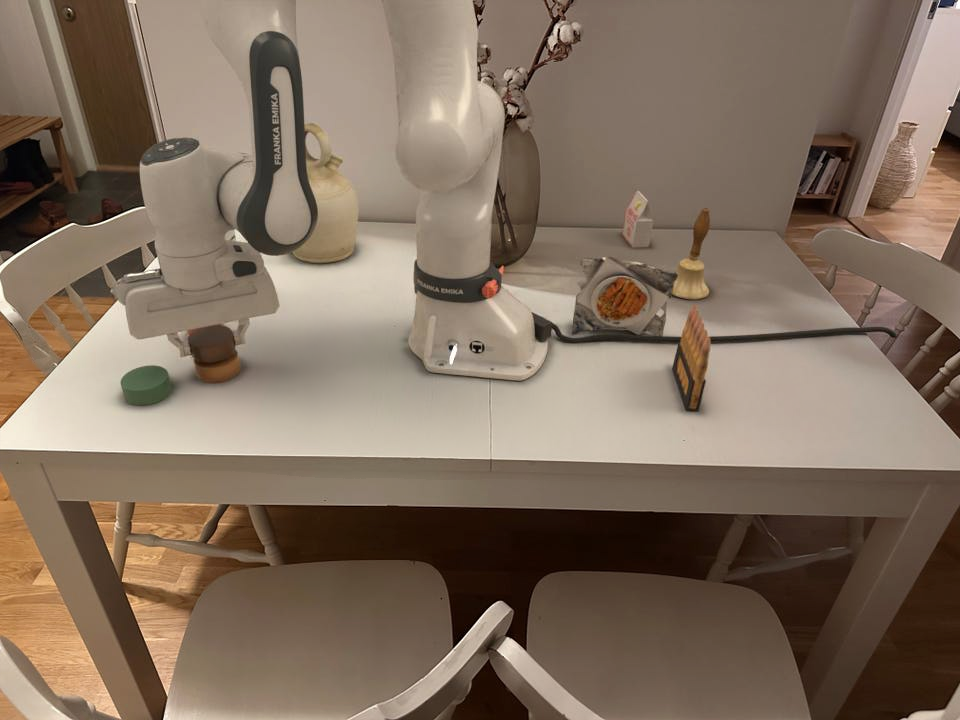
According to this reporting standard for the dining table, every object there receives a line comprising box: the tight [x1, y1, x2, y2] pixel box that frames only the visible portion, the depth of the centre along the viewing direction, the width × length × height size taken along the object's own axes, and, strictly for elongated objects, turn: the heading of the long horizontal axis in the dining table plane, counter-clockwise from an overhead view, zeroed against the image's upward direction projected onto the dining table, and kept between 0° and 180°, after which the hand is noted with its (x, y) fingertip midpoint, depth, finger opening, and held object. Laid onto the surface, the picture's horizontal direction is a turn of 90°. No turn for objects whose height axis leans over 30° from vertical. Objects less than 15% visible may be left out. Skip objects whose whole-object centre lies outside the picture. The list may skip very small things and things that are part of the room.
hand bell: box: [672, 207, 711, 301], centre depth 125 cm, size 8×8×16 cm
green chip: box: [119, 365, 173, 407], centre depth 97 cm, size 6×6×3 cm
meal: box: [571, 256, 678, 336], centre depth 112 cm, size 15×4×13 cm, turn 81°
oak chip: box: [193, 348, 241, 384], centre depth 102 cm, size 6×6×3 cm
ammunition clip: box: [671, 304, 712, 412], centre depth 100 cm, size 11×2×12 cm, turn 178°
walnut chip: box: [187, 325, 237, 363], centre depth 101 cm, size 6×6×3 cm
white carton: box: [621, 190, 654, 249], centre depth 145 cm, size 4×7×10 cm, turn 8°
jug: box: [292, 122, 360, 264], centre depth 132 cm, size 15×16×25 cm
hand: (213, 348), depth 101 cm, fingers closed on walnut chip, 6 cm apart
